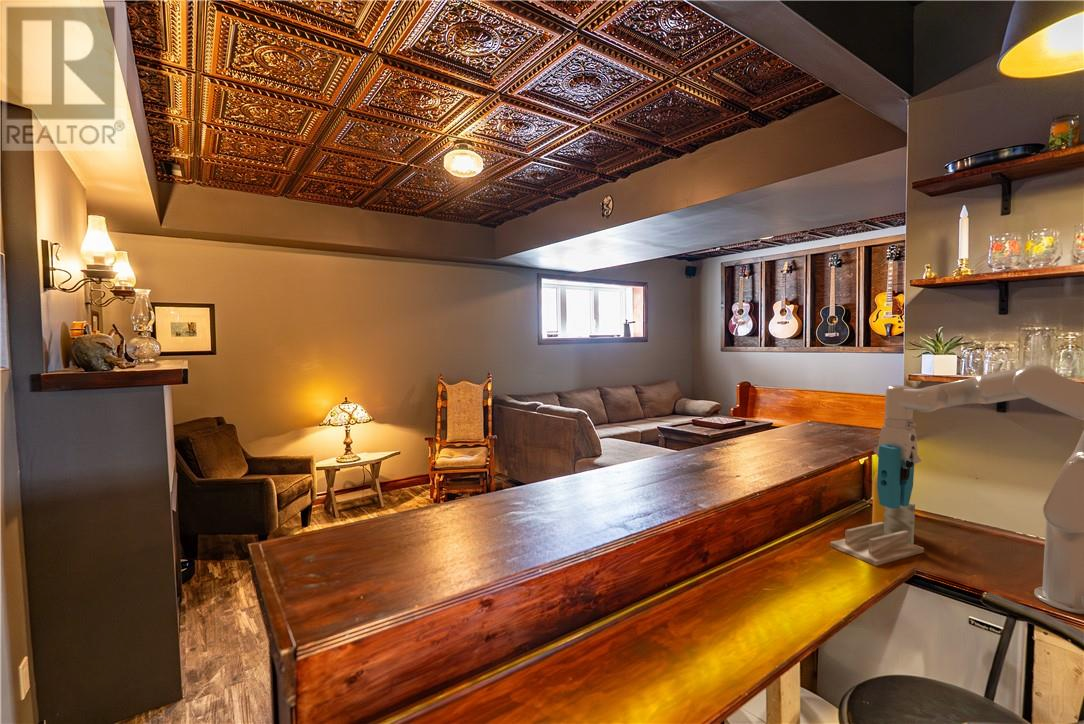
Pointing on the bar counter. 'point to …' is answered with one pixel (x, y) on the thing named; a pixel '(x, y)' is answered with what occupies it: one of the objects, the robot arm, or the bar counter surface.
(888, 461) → the block
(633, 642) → the bar counter surface
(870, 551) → the book stand
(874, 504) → the beer bottle
